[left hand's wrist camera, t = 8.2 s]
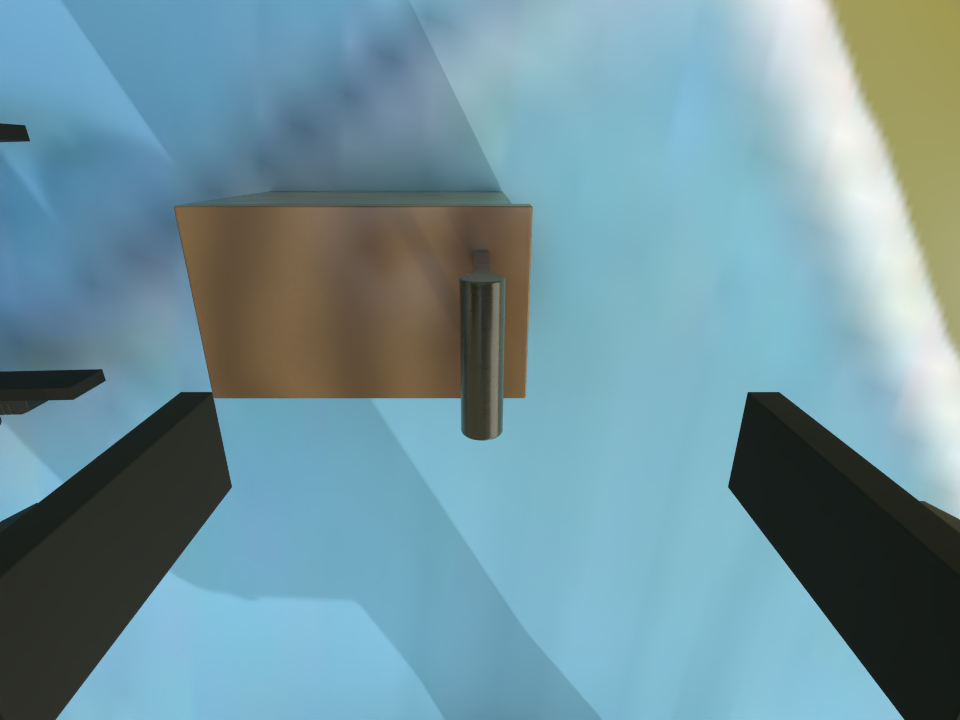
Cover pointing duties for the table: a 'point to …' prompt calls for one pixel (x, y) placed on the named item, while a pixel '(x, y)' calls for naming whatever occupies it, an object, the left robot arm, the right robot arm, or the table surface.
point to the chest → (366, 198)
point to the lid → (364, 301)
